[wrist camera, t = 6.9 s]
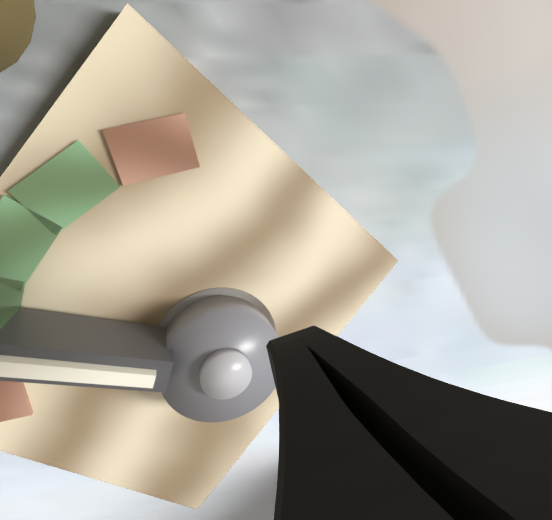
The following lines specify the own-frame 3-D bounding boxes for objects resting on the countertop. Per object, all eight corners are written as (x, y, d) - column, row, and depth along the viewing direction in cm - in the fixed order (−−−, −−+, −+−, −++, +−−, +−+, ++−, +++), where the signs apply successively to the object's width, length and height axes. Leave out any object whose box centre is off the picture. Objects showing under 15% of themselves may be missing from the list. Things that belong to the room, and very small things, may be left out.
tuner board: (388, 256, 21) (400, 261, 20) (195, 494, 22) (197, 512, 21) (130, 13, 14) (126, 1, 13) (-144, 386, 15) (-169, 404, 14)
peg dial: (286, 306, 18) (310, 337, 15) (254, 399, 20) (271, 445, 16) (30, 258, 14) (-9, 287, 11) (9, 381, 15) (-33, 440, 12)
